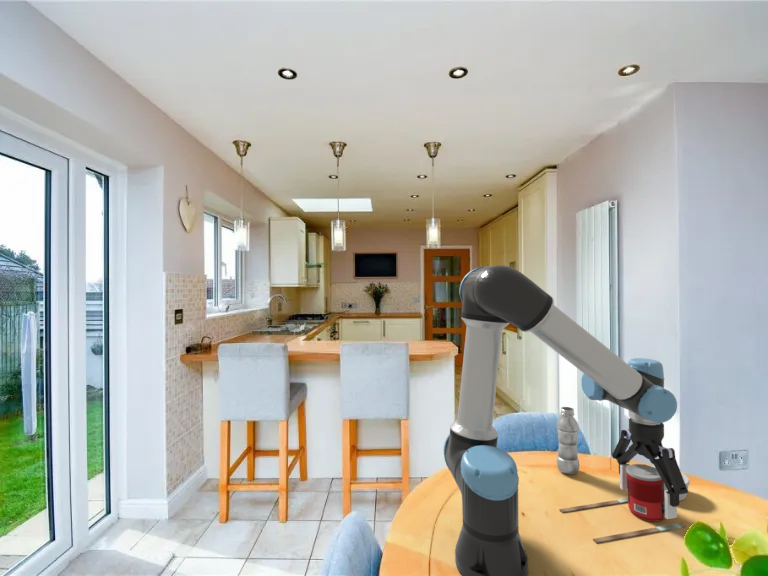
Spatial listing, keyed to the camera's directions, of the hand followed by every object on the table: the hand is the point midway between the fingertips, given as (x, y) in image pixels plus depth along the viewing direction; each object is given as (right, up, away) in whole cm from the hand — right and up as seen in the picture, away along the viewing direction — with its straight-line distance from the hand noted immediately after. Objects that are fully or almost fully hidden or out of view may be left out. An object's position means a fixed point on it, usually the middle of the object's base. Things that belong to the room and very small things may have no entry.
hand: (646, 502), depth 102 cm
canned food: (0, -3, 0) cm, 3 cm away
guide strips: (-8, -3, -2) cm, 9 cm away
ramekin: (+11, -3, +10) cm, 15 cm away
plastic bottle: (-10, -3, +23) cm, 25 cm away
